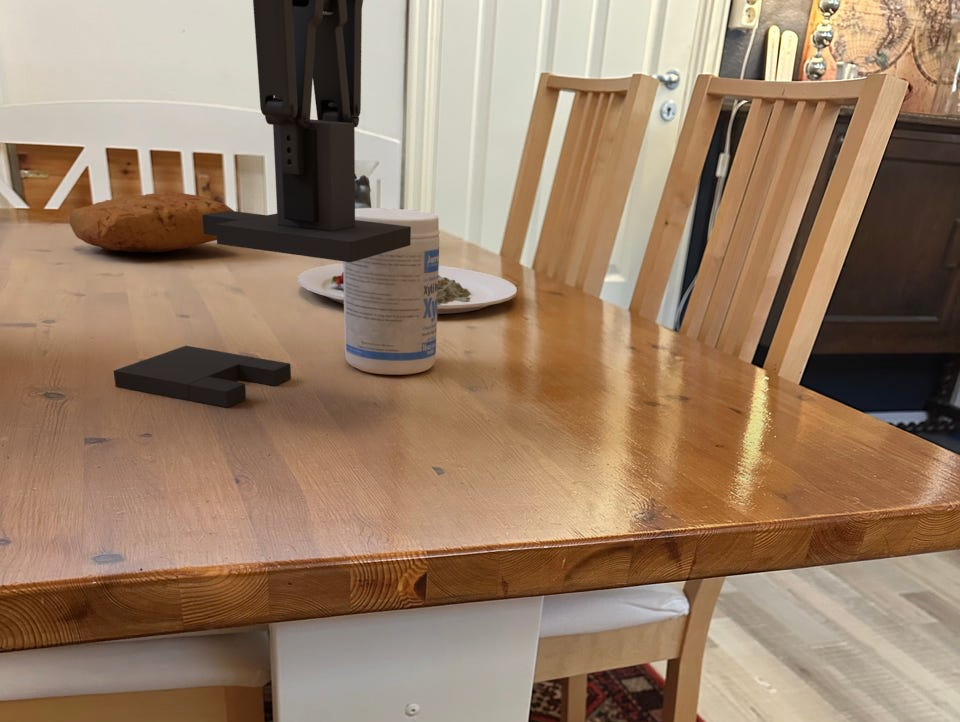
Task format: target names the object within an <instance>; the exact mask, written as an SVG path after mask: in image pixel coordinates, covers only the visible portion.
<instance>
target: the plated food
mask: <svg viewBox="0 0 960 722" xmlns="http://www.w3.org/2000/svg"><path fill="white" fill-rule="evenodd" d="M297 283H299V285H300V286H301V287H302V288H304V289H306V290H308V291H309V292H312V293H315V294H318V295H321V296H324V297H327V298H328V299H329V300H332V301H335V302H337V303H339V304H343V305H344V275H343V262H341V263H334V264H325V265H320V266H316V267H312V268H309V269H306V270H304V271H303V272H301V273H299V275H298V277H297ZM517 292H518V288H517V287H516V285H515V284H514V283H512V282H511V281H509V280H507V279H504V278H502V277H499V276H496V275H493V274H490V273H485V272H481V271H476V270H471V269H466V268H460V267H453V266H446V265H439V271H438V301H437V315H443V314H444V315H446V314H459V313H466V312H472V311H473V312H474V311H478V310H481V309H484V308H487V307H488V306H491V305H497V304H501V303H504V302H507V301H510V300H511V299H513V298H514V297H516V295H517Z"/></svg>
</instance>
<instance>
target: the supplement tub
mask: <svg viewBox="0 0 960 722" xmlns="http://www.w3.org/2000/svg"><path fill="white" fill-rule="evenodd" d="M355 220H360V221H368V222H377V223H385V224H393V225H401V226H409V227H411V242H410V246H406V247H403V248H399V249H396V250H392V251H389V252H385V253H382V254H378V255H375V256H371V257H368V258H364V259H361V260H358V261H354V262H344V261H342V263H343V275H344V304H343V315H344V316H343V319H344V320H343V322H344V323H343V325H344V327H343V328H344V357H345V360H346V362H347V363H348V364H349V365H350V366H351V367H353V368H355V369H356V370H358V371H361V372H365V373H369V374H375V375H386V376H387V375H390V376H395V375H396V376H398V375H399V376H400V375H413V374H418V373H422V372H426V371H428V370H429V369H431V368H432V367H433V366H434V364H435V362H436V359H437V358H436V357H437V356H436V355H437V329H438V328H437V327H438V314H437V301H438V271H439V266H440V230H439V216H438V215H437V214H435V213H431V212H427V211H420V210H412V209H404V208H403V209H401V208H386V207H372V208H357V209H355Z"/></svg>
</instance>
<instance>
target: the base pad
mask: <svg viewBox="0 0 960 722" xmlns="http://www.w3.org/2000/svg"><path fill="white" fill-rule="evenodd" d="M291 369H292V368H291V363H289V362H284V361H277V360H272V359H266V358H260V357H254V356H249V355H243V354H238V353H230V352H226V351H219V350H214V349H208V348H202V347H197V346H191V345H183V346H181V347H178V348H175V349H172V350H169V351H166V352H163V353H160V354H158V355H154V356H151V357H148V358H146V359H143V360H140V361H137V362H134V363H131V364H128V365H125V366H123V367H120V368H116V369H114V370H113V376H114V384H115V387H116V388H121V389H127V390H131V391H136V392H137V391H138V392H143V393H148V394H154V395H158V396H163V397H167V398H168V397H169V398H174V399H179V400H185V401H191V402H196V403H201V404H206V405H212V406H217V407H223V408H227V409H228V408H231V407H232V406H235V405H237V404H240V403H241V402H243V401H246V400H247V391H246V390H247V389H246V388H247V387H246V383H245V382H240V381H238V380H241V381H246V382H250V383H251V382H252V383H256V384H263V385H268V386H273V387H275V386H278V385H280V384H282V383H284V382H287V381H289V380H291V379H292V373H291V371H292V370H291Z"/></svg>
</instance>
